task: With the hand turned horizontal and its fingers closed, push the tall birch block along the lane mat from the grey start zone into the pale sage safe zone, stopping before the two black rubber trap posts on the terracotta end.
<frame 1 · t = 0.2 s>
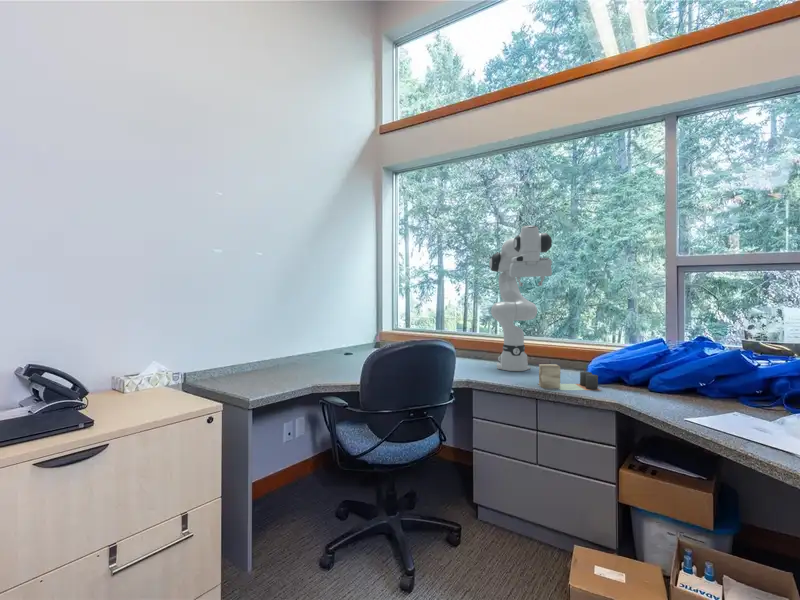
hand: (530, 286, 198), 47 cm above the table, fingers open, 8 cm apart
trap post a: (585, 385, 188), point 1 cm above the table, touching lane mat
lane mat: (567, 388, 185), on the table
birch block: (549, 386, 185), point 1 cm above the table, touching lane mat
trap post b: (591, 388, 182), point 1 cm above the table, touching lane mat
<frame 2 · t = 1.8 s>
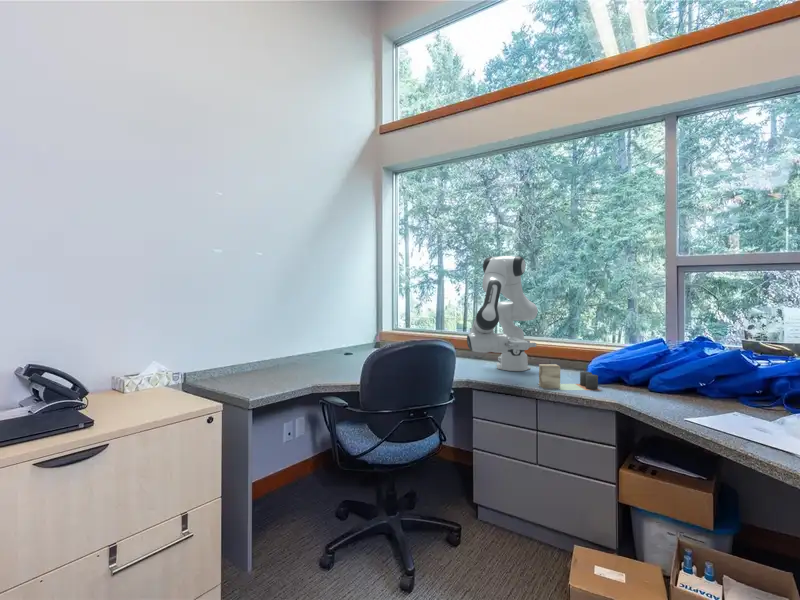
hand: (532, 343, 185), 21 cm above the table, fingers open, 8 cm apart
nothing on the table moved.
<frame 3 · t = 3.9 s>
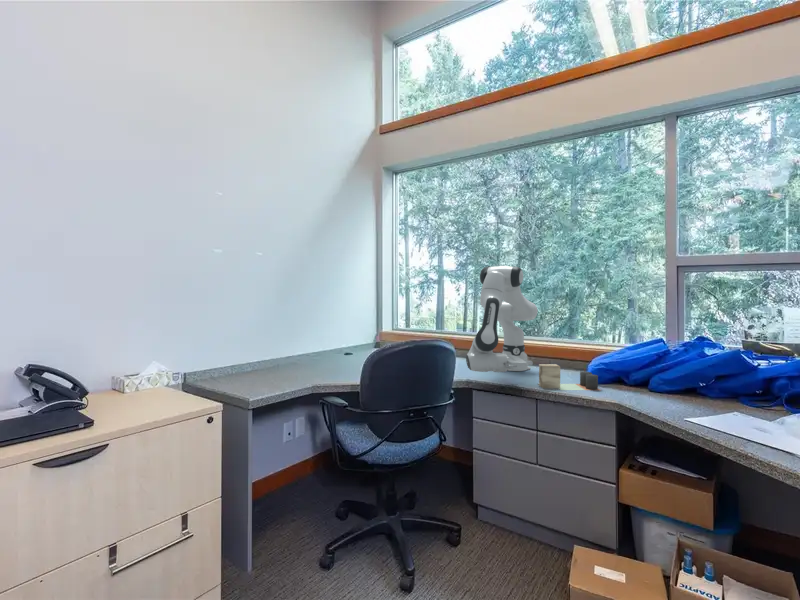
hand: (531, 362, 185), 12 cm above the table, fingers closed
nothing on the table moved.
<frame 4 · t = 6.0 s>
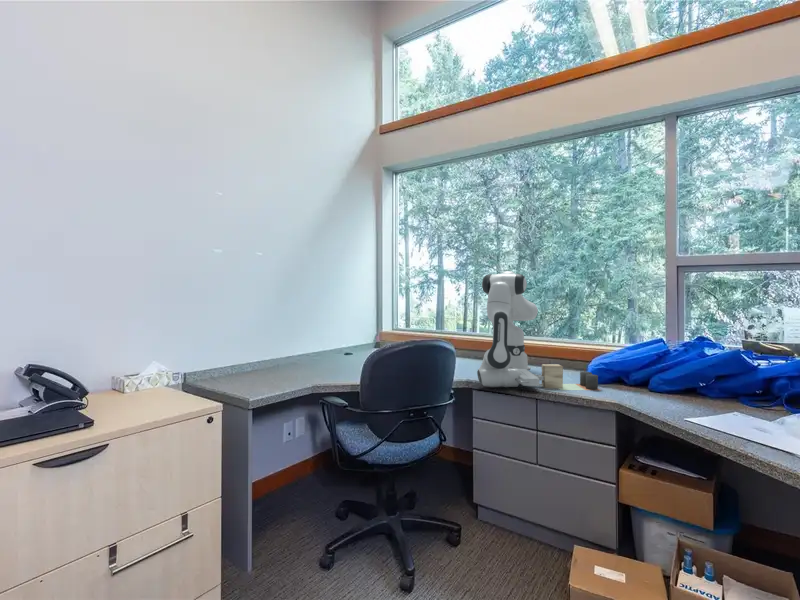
hand: (543, 377, 185), 5 cm above the table, fingers closed
birch block: (552, 386, 185), point 1 cm above the table, touching lane mat
everything else where it was.
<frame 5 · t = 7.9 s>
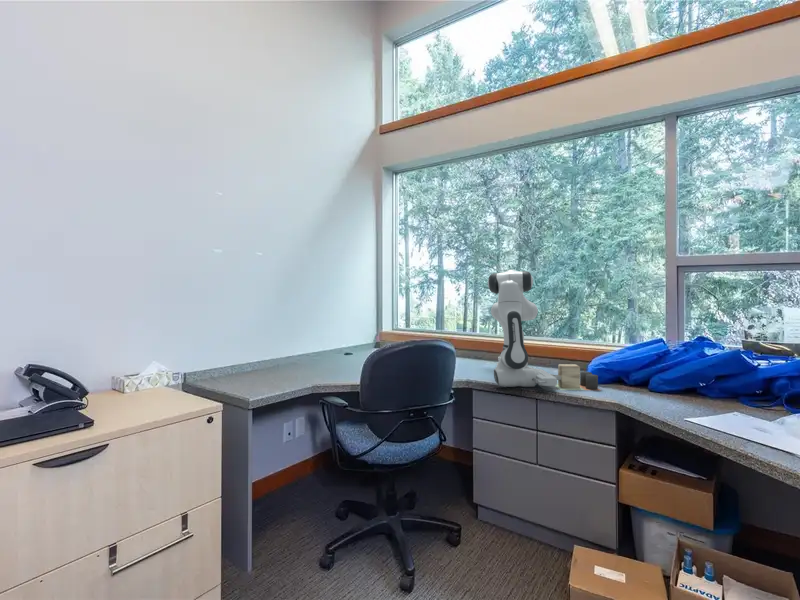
hand: (559, 377, 185), 5 cm above the table, fingers closed, pressing on birch block
birch block: (568, 387, 185), point 1 cm above the table, touching gripper, lane mat
everything else where it was.
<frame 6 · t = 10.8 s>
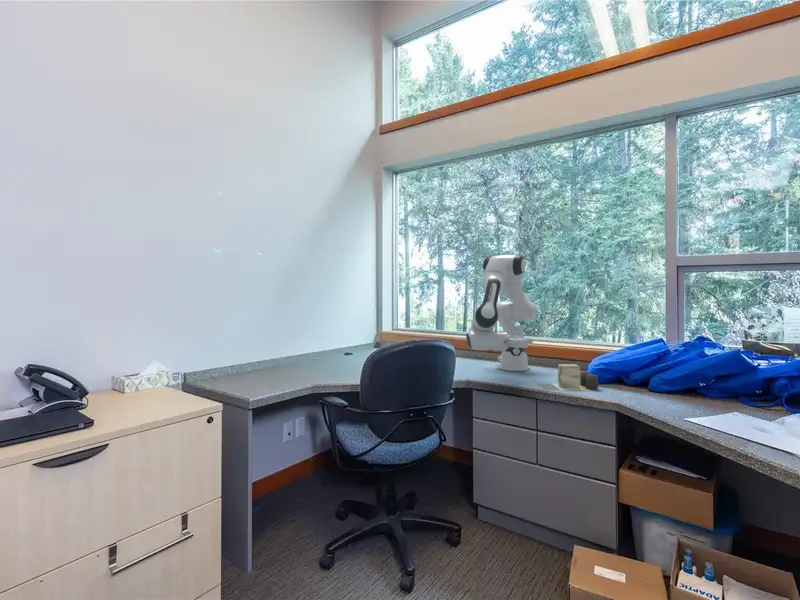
hand: (531, 341, 185), 22 cm above the table, fingers closed
birch block: (568, 387, 185), point 1 cm above the table, touching lane mat
everything else where it was.
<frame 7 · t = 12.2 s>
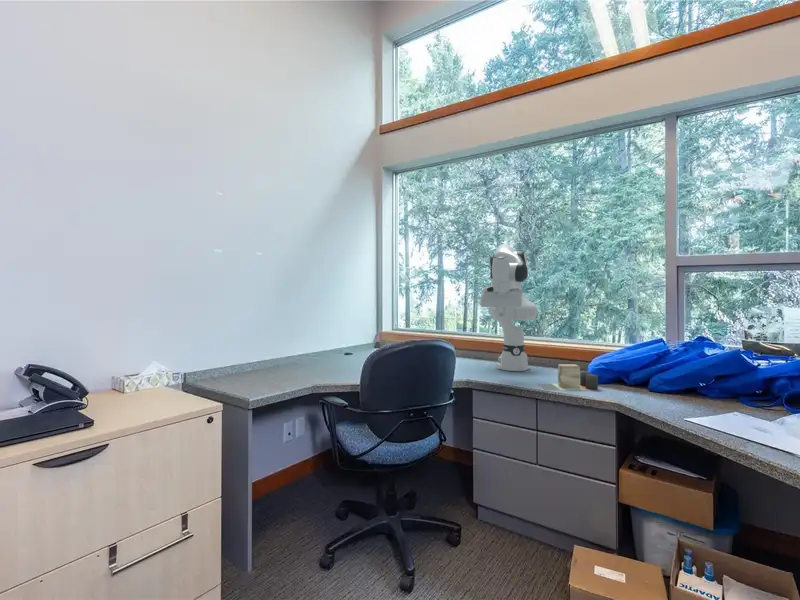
hand: (500, 316, 200), 32 cm above the table, fingers closed
nothing on the table moved.
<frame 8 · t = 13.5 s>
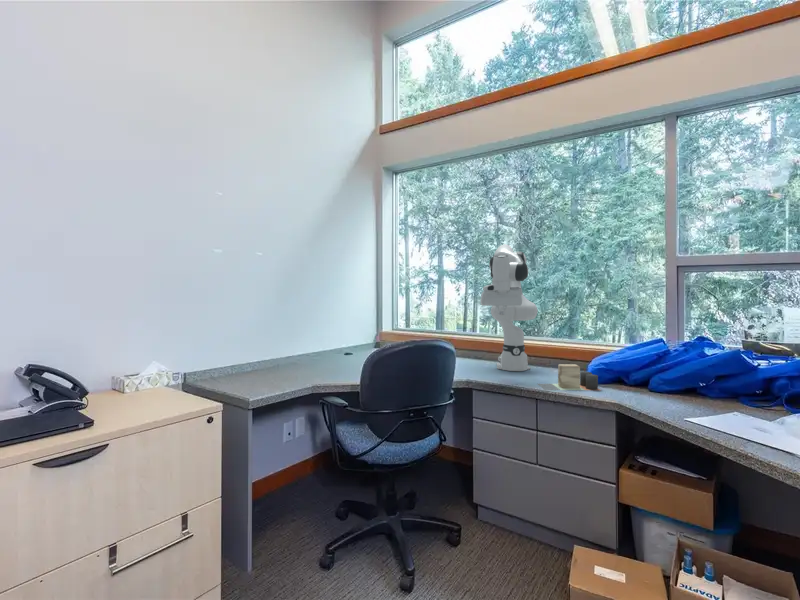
hand: (501, 314, 200), 33 cm above the table, fingers closed
nothing on the table moved.
at the end: birch block inside the target area (0.5 cm from its centre), point 0.6 cm above the table; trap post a moved 0.0 cm from its start; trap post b moved 0.0 cm from its start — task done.
